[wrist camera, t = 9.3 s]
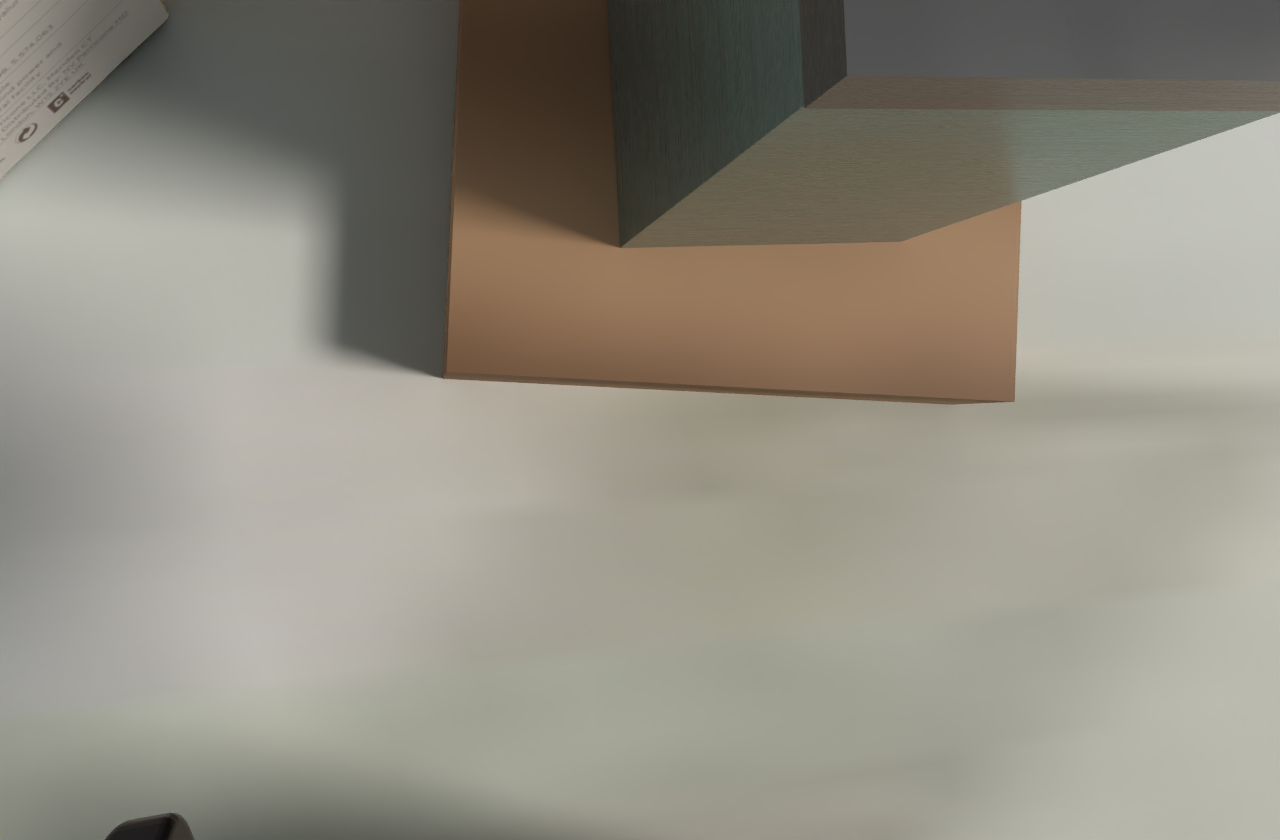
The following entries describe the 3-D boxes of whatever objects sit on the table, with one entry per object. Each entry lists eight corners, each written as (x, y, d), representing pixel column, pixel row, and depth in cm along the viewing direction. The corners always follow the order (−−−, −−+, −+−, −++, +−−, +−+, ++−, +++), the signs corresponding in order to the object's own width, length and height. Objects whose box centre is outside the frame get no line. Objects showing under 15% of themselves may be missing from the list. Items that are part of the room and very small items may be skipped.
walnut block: (940, 404, 24) (1014, 401, 21) (442, 380, 21) (446, 371, 18) (957, -81, 24) (1033, -153, 21) (465, -157, 22) (473, -249, 19)
